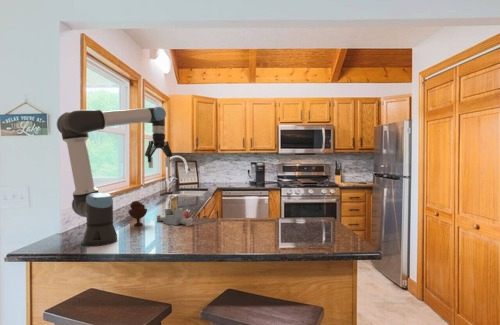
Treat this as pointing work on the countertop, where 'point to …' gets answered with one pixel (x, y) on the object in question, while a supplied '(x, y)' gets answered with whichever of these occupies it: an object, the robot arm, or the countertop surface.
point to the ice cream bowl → (137, 211)
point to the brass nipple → (173, 204)
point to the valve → (176, 217)
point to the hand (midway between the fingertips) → (159, 167)
